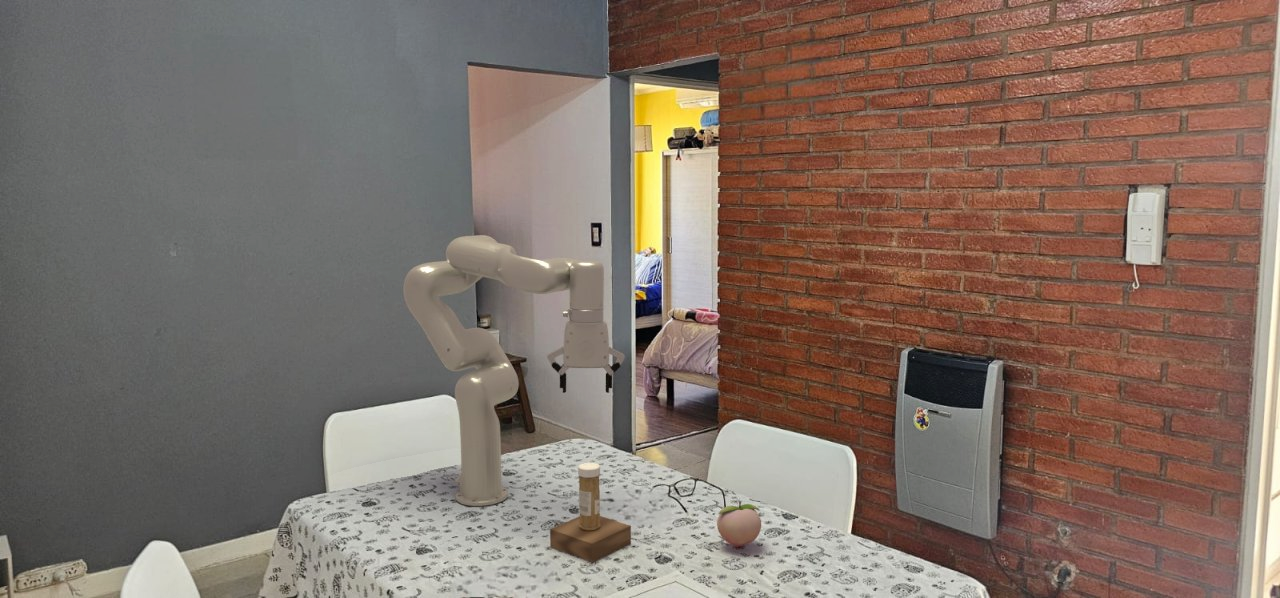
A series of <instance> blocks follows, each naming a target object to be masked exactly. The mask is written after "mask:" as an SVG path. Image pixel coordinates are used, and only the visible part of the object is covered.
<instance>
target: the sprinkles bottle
mask: <svg viewBox="0 0 1280 598" xmlns="http://www.w3.org/2000/svg"><path fill="white" fill-rule="evenodd" d="M577 469H578V471H577V473H578V480H579V481H578V485H579V486H578V506H579V507H578V510H579V511H578V512H579V513H578V514H579V517H580V524H579V527H580V528H581V529H583V530H587V531H591V530H596V529H598V528H600V516H601V513H600V512H601V500H600V497H601V494H600V492H601V490H600V475H601V466H600V465H599V464H598V463H596V462H584V463H580V464H579V465H578V468H577Z"/></svg>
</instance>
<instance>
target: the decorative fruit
mask: <svg viewBox="0 0 1280 598" xmlns="http://www.w3.org/2000/svg"><path fill="white" fill-rule="evenodd" d="M738 503H739V504H738V505H737V506H736V505H735V506H734V505H729V506H728V505H727V506H726V507H723V508H722V509H721V510H720V511H719V512H718V513H717V515H718V518H717V521H716V526H717V530H718V533H719V534H720V536H721V538H722V539H723V541H725V542H726V543H728V544H729V545H731V546H734V547H736V548H739V547H740V546H741V547H742V546H746V545H749V544H751V543H752V542H754V541H755V540H756V539H757V538H758V537H759V535H760V532H761V528H762V520H761V517H760V515H759V514H758V512H757V511H760V509H759V507H758V506H756V505H754V504H750V503H746V504H745V503H744V504H742V501H738ZM756 510H757V511H756ZM741 547H740V548H741Z"/></svg>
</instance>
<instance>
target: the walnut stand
mask: <svg viewBox="0 0 1280 598" xmlns="http://www.w3.org/2000/svg"><path fill="white" fill-rule="evenodd" d="M579 524H580V516H578V517H576V518H572V519H571V520H568V521H566V522H563V523H561V524H559V525H556V526H554V527H551V528H549V540H550V543H549V544H550V548H551V549H554V550H557V551H559V552H562V553H565V554H567V555H571V556H573V557H576V558H578V559H581V560H583V561H586V562H589V563H590V564H591V563H592V564H593V563H595V562H598V561H599V560H601V559H603V558H605V557H608V556H610V555H611V554H613V553H615V552H617V551H619V550H622V549H623V548H625V547H628V546H630V545H631V544H632V526H631V525H629V524H626V523H623V522H621V521H620V522H619V521H617V520H614V519H611V518H608V517H605V516H601V515H600V528H598V529H596V530H591V531H587V530H583V529H581V528H580V527H579Z"/></svg>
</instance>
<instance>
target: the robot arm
mask: <svg viewBox="0 0 1280 598" xmlns="http://www.w3.org/2000/svg"><path fill="white" fill-rule="evenodd" d="M445 257H446V258H445V259H446V260H442V261H441V260H440V261H432V262H425V263H421V264H418V265H417V266H414V267H413V268H411V269H410V270H409V271H408V273H407V274H406V276H405V278H404V282H403V290H402V291H403V297H404V300H405V305H406V307H407V308H408V310H409V311H410V313H411V314H412V316H413V317H414V319H415V320H416V321H417V323H418V324H419V325H420V327H421V329H422V330H423V332H424V333H425V336H426V337H427V339H428V341H429V342H430V344H431V346H432V348H433V349H434V351H435V353H436V355H437V356H438V358H439V360H440V361H441V362H442V364H443V366H444V367H445V368H446V369H447V370H449V371H452V372H461V371H464V370H468V369H471V368H475V370H471V371H469V372H467V373H465V374H463V375H461V377H460V378H459V379H458V380H457V382H456V384H455V388H454V397H455V401H456V407H457V411H458V418H459V429H460V430H459V436H460V465H461V466H460V467H461V469H460V470H461V473H460V474H459V475H458V477H456V478H454V483H456V484H457V485H459V490H457V491H456V493H455V500H456V502H457V503H459V504H461V505H464V506H469V507H471V506H472V507H484V506H491V505H492V506H493V505H495V504H499V503H502V502H503V501H505V500H507V498H508V497H509V490H508V489H507V487H504V486H503V485H502V481H503V480H502V452H501V451H502V448H501V447H502V445H501V444H502V443H501V424H500V420H499V417H498V415H497V412H496V411H495V410H496V409H495V406H497V405H498V404H501V403H505V402H506V401H509V400H510V399H512V398H513V397H515V395H516V394H517V392H518V389H519V385H520V382H519V378H518V374H517V372H516V370H515V369H514V366H513V365H512V363H511V361H510V360H509V358H508V356H507V355H506V353H505V351H504V349H503V348H502V346H501V345H500V342H499V341H498V340H497V338H496V337H495V336H494V335H493V334H492V333H491V332H490V331H488V330H487V329H485V328H483V327H470V328H467V329H466V328H465V327H464V326H463V324H462V323H461V321H459V318H458V317H457V315H456V313H455V312H454V310H453V309H452V308H451V307H450V306H448V305H447V304H446V303H445V302H443V301H442V300H441V299H440V297H445V296H448V295H449V296H450V295H457V294H460V293H463V292H464V291H467V290H468V289H469V288H471V287H472V286H473V285H474V284H476V283H478V281H480V280H481V279H482V278H487V279H491V280H496V281H499V282H501V283H502V284H504V285H505V286H507V287H509V288H511V289H515V290H519V291H524V292H528V293H531V294H537V295H548V294H552V293H557V292H565V291H568V290H569V309H567V310H563V311H562V317H563V318H568V319H569V320H567V321H566V323H565V326H564V327H565V328H564V335H563V345H562V347H560V348H557V349H556V350H554V351H552V352H549V353H548V354H547V357H546V358H547V360H548V363H549V364H550V365H551V368H552V369H553V370H555V372H556V373H557V374H558V375H559V389H562V393H563V394H564V393H566V392H567V371H568V369H569V368H570V369H602V368H603V369H604V371H605V393H607V394H608V393H609V394H610V389H613V375H614V373H616V371H618V370H619V369H620V368H621V365H622V364H623V363H624V361H625V359H626V356H625V355H626V354H624V353H622V352H620V351H618V350H617V349H614V348H612V347H611V346H610V338H609V328H608V324H607V322H606V321H604V292H605V291H604V287H605V285H604V283H605V282H604V281H605V279H604V278H605V276H604V275H605V268H604V267H605V266H604V265H603V263H602V262H601V261H598V260H590V259H587V260H584V259H583V260H581V259H574V258H571V257H564V256H563V257H552V258H545V259H534V258H531V257H525V256H520V255H518V254H517V252H516V250H515V248H514V247H513V246H511V245H510V244H505V243H500V242H498V241H497V240H496V239H494V238H493V237H491V236H489V235H484V234H480V235H465V236H459V237H457V238H454V239H453V240H451V242H450V243H448V245H447V247H446V250H445ZM561 355H562V359H563V360H562V361H563V363H562V365H561V364H560V363H558V362H557V361H556V358H557V357H558V356H561ZM610 355H611V356H613V357H615V358H616V361H615V362H614V364H613V365H610V364H609V363H610V362H609V361H610Z"/></svg>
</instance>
